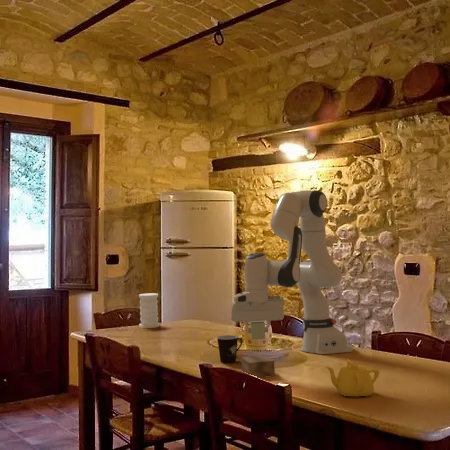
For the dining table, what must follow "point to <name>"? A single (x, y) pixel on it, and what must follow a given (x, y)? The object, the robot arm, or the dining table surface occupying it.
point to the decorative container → (149, 310)
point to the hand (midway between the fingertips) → (257, 332)
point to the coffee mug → (228, 348)
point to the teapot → (354, 380)
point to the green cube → (257, 329)
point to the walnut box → (258, 365)
